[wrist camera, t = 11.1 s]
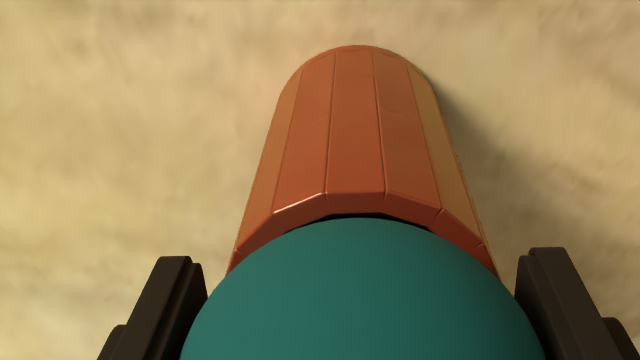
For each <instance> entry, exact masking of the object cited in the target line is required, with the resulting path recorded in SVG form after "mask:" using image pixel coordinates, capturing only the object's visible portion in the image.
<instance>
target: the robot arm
mask: <svg viewBox="0 0 640 360" xmlns="http://www.w3.org/2000/svg"><path fill="white" fill-rule="evenodd" d="M207 299H208V295H207V290H206V285H205V280H204V275H203V270H202V267H201V264H200V263H193V262H192V259H191V258H190V257H189V256H163V257H160V258H159V259H158V260H157V262H156V264H155V266H154V268H153V270H152V272H151V274H150V277H149V279H148V281H147V283H146V285H145V287H144V289H143V291H142V293H141V295H140V297H139V299H138V301H137V303H136V305H135V307H134V309H133V312H132V314H131V316H130V318H129V320H128V322H127V324H126V325H117V326H116V327H114V329H113V330H112V332H111V333H110V335H109V337H108V339H107V341H106V343H105V345H104V347H103V349H102V351H101V353H100V354H99V356H98V358H97V360H179V357H180V353H181V350H182V348H183V346H184V343H185V341H186V338H187V336H188V334H189V331H190V329H191V327H192V325H193V322H194V320H195V318H196V317H197V315H198V313H199V312H200V310H201V309H202V307H203V305H204V304H205V302H206V301H207ZM514 299H515V300H516V301H517V303H518V304H519V305H520V307H521V308H522V309H523V311H524V312H525V314H526V315H527V317H528V319H529V321H530V323H531V325H532V327H533V329H534V331H535V333H536V335H537V337H538V339H539V341H540V343H541V345H542V347H543V350H544V353H545V356H546V359H547V360H640V355H639V353H638V352H637V350H636V348H635V347H634V345H633V343H632V341H631V339H630V338H629V336H628V334H627V332H626V331H625V329H624V327H623V326H622V324H621V323H620V322H619V320H617V319H616V318H614V317H601V316H600V314H599V312H598V310H597V308H596V306H595V304H594V302H593V301H592V299H591V297H590V295H589V293H588V291H587V289H586V287H585V286H584V284H583V282H582V280H581V278H580V276H579V274H578V272H577V270H576V269H575V267H574V265H573V263H572V261H571V259H570V257H569V255H568V254H567V252H566V250H565V249H564V248H563V247H537V248H531V249H530V251H529V255H526V256H520V258H519V261H518V269H517V278H516V287H515V295H514Z"/></svg>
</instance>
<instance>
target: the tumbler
mask: <svg viewBox="0 0 640 360" xmlns="http://www.w3.org/2000/svg"><path fill="white" fill-rule="evenodd" d="M346 218H376V219H383V220H390V221H397V222H400V223H404V224H408V225H412V226H416V227H418V228H421V229H424V230H426V231H429V232H431V233H434V234H436V235H438V236H440V237H442V238H443V239H445V240H447V241H449V242H451V243H453V244H455V245H457V246H458V247H460V248H462V249H463V250H465V251H466V252H467V253H469V254H470V255H472V256H473V257H474V258H476V259H477V260H478V261H479V262H481V263H482V264H483V265H484V266H485V267H486V268H487V269H488V270H489V271H490V272H491V273H492V274H493V275H495V276H496V277H497V278H498V279H499V280H500V281H501V282H502V280H501V278H500V275H499V272H498V269H497V266H496V263H495V261H494V258H493V255H492V252H491V249H490V246H489V243H488V241H487V238H486V235H485V232H484V229H483V226H482V224H481V221H480V218H479V215H478V212H477V209H476V206H475V204H474V201H473V198H472V195H471V192H470V189H469V187H468V184H467V181H466V178H465V175H464V172H463V169H462V167H461V164H460V161H459V158H458V155H457V152H456V150H455V147H454V144H453V141H452V138H451V135H450V132H449V130H448V127H447V124H446V121H445V118H444V115H443V113H442V110H441V108H440V106H439V103H438V101H437V98H436V95H435V93H434V91H433V89H432V87H431V85H430V83H429V82H428V80H427V79H426V78H425V76H424V75H423V74H422V73H421V72H420V71H419V70H418V68H417V67H415V66H414V65H413V64H412V63H410V62H409V61H408V60H406V59H405V58H403V57H401V56H400V55H398V54H395V53H393V52H391V51H388V50H385V49H382V48H378V47H372V46H365V45H352V46H344V47H339V48H335V49H331V50H328V51H326V52H323V53H321V54H319V55H317V56H315V57H313V58H312V59H310V60H309V61H307V62H306V63H305V64H303V65H302V66H301V67H300V68H299V69H298V70H297V71H296V72H295V73H294V74H293V75H292V76H291V77H290V79H289V80H288V81H287V83H286V85H285V86H284V88H283V90H282V92H281V94H280V96H279V99H278V102H277V106H276V109H275V112H274V115H273V118H272V121H271V125H270V128H269V131H268V135H267V138H266V141H265V145H264V148H263V151H262V155H261V158H260V161H259V165H258V168H257V171H256V175H255V178H254V181H253V185H252V188H251V191H250V195H249V198H248V201H247V205H246V208H245V211H244V215H243V218H242V221H241V225H240V228H239V231H238V235H237V238H236V241H235V245H234V248H233V251H232V255H231V258H230V261H229V265H228V268H227V271H226V275H225V277H226V276H227V275H228V274H229V273H230V272H231V271H232V270H233V269H234V268H235V267H236V266H237V265H238V264H239V263H241V262H242V261H243V260H244V259H245V258H246V257H248V256H249V255H250V254H251V253H253V252H254V251H256V250H257V249H259V248H261V247H262V246H264V245H265V244H267V243H268V242H270V241H272V240H274V239H276V238H278V237H280V236H282V235H284V234H286V233H288V232H291V231H293V230H295V229H298V228H301V227H304V226H307V225H310V224H314V223H319V222H324V221H329V220H334V219H346Z"/></svg>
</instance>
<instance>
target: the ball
mask: <svg viewBox="0 0 640 360" xmlns="http://www.w3.org/2000/svg"><path fill="white" fill-rule="evenodd" d="M179 360H547V359H546V356H545V353H544V350H543V347H542V345H541V343H540V341H539V339H538V337H537V335H536V333H535V331H534V329H533V327H532V325H531V323H530V321H529V319H528V317H527V315H526V314H525V312H524V311H523V309H522V308H521V307H520V305H519V304H518V303H517V301H516V300H515V299H514V297H513V296H512V295H511V293H510V292H509V291H508V289H507V288H506V287H505V286H504V284H503V283H502V282H501V281H500V280H499V279H498V278H497V277H496V276H495V275H493V274H492V273H491V272H490V271H489V270H488V269H487V268H486V267H485V266H484V265H483V264H482V263H481V262H479V261H478V260H477V259H476V258H474V257H473V256H472V255H470V254H469V253H467V252H466V251H465V250H463V249H462V248H460V247H458V246H457V245H455V244H453V243H451V242H449V241H447V240H445V239H443V238H442V237H440V236H438V235H436V234H434V233H431V232H429V231H426V230H424V229H421V228H418V227H416V226H412V225H408V224H404V223H400V222H397V221H390V220H383V219H376V218H346V219H334V220H329V221H324V222H319V223H314V224H310V225H307V226H304V227H301V228H298V229H295V230H293V231H291V232H288V233H286V234H284V235H282V236H280V237H278V238H276V239H274V240H272V241H270V242H268V243H267V244H265V245H264V246H262V247H261V248H259V249H257V250H256V251H254V252H253V253H251V254H250V255H249V256H248V257H246V258H245V259H244V260H243V261H242V262H241V263H239V264H238V265H237V266H236V267H235V268H234V269H233V270H232V271H231V272H230V273H229V274H228V275H227V276H226V277H225V278H224V279H223V280H222V281H221V282H220V284H219V285H218V286H217V287H216V288H215V289H214V291H213V292H212V294H211V295H210V296H209V298H208V299H207V301H206V302H205V304H204V305H203V307H202V309H201V310H200V312H199V313H198V315H197V317H196V318H195V320H194V322H193V325H192V327H191V329H190V331H189V334H188V336H187V338H186V341H185V343H184V346H183V348H182V350H181V353H180V357H179Z"/></svg>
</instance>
